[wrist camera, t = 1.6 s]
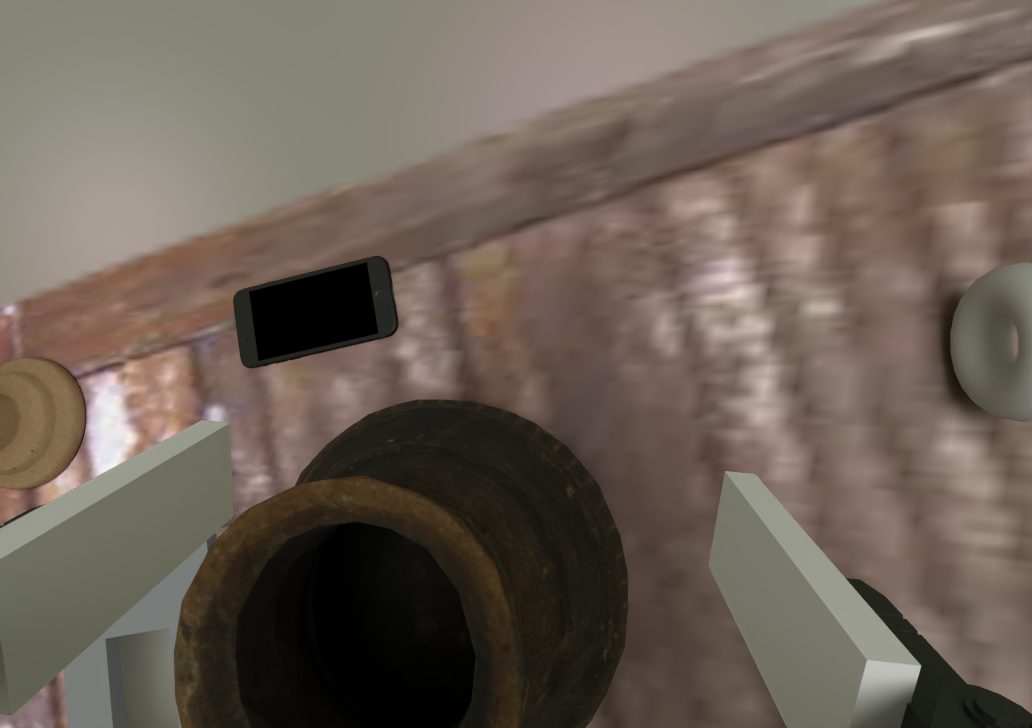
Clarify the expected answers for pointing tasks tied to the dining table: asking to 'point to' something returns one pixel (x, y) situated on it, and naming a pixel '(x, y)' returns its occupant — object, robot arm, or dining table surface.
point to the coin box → (134, 661)
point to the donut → (996, 342)
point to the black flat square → (315, 312)
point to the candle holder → (37, 421)
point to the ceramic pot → (412, 585)
